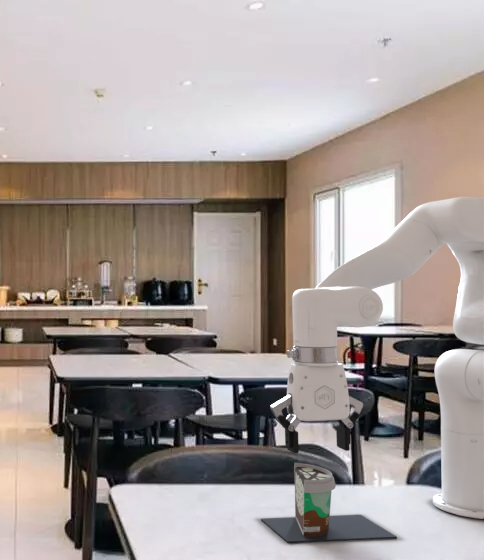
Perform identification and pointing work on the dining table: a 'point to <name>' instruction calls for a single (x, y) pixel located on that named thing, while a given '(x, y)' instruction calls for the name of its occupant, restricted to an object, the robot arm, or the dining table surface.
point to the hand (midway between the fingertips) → (318, 450)
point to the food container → (313, 498)
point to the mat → (330, 529)
